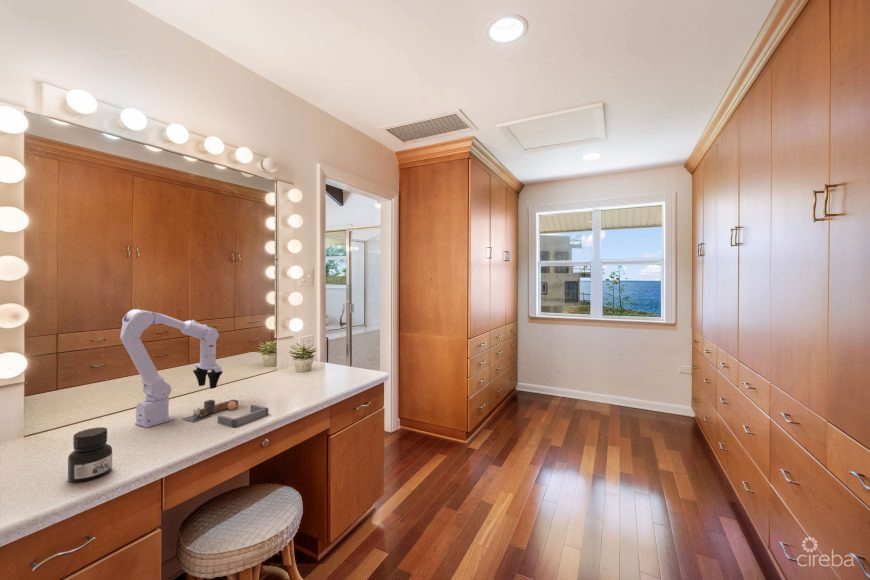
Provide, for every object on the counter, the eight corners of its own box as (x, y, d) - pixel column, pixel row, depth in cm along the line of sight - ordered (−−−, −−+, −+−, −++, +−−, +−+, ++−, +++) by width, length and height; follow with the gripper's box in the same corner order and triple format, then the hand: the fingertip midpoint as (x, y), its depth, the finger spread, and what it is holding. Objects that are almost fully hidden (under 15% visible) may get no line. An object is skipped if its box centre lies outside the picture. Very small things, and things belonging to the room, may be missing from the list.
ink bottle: (76, 487, 94) (76, 441, 94) (58, 480, 97) (58, 436, 97) (120, 469, 103) (120, 428, 103) (102, 463, 106) (102, 423, 106)
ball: (230, 411, 150) (230, 403, 150) (225, 410, 152) (225, 401, 152) (238, 408, 154) (238, 400, 153) (233, 407, 155) (233, 399, 155)
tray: (233, 427, 133) (233, 420, 133) (217, 423, 137) (217, 416, 137) (268, 414, 147) (268, 408, 147) (252, 411, 151) (253, 404, 151)
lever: (205, 416, 143) (205, 404, 143) (199, 414, 145) (199, 402, 144) (238, 405, 156) (238, 394, 156) (232, 404, 157) (232, 393, 157)
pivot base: (193, 422, 138) (193, 413, 138) (182, 419, 141) (182, 410, 141) (211, 416, 144) (211, 408, 144) (200, 413, 147) (200, 405, 147)
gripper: (228, 355, 154) (227, 386, 154) (206, 352, 160) (206, 382, 160) (211, 358, 147) (211, 391, 147) (190, 354, 153) (189, 386, 154)
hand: (207, 386), depth 153 cm, fingers open, 7 cm apart
